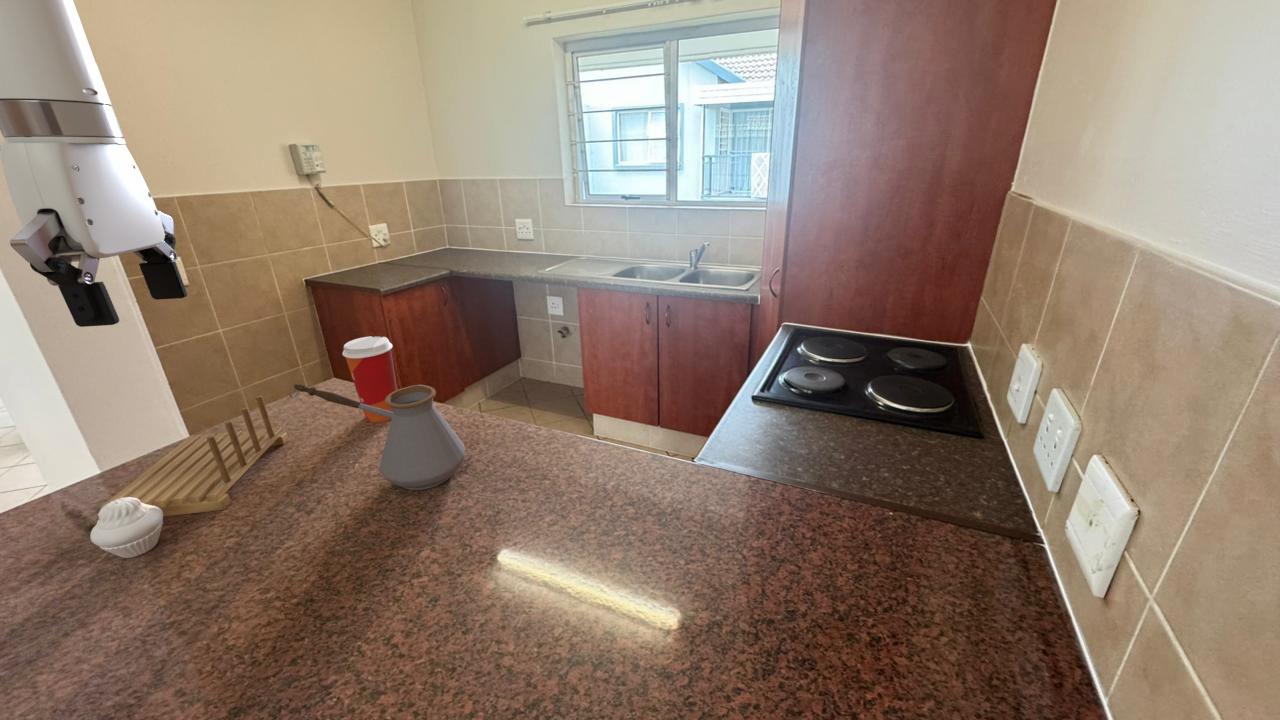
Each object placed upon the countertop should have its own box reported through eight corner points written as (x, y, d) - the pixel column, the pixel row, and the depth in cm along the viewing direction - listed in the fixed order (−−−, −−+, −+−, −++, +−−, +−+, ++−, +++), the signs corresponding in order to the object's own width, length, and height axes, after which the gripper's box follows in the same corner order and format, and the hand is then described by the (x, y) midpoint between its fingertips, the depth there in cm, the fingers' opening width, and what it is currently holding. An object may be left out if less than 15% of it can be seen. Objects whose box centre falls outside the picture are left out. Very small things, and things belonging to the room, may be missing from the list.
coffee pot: (477, 451, 79) (462, 363, 73) (454, 497, 68) (435, 398, 62) (339, 455, 78) (314, 367, 72) (295, 503, 67) (261, 403, 62)
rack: (103, 523, 64) (70, 460, 61) (194, 448, 81) (172, 396, 77) (224, 510, 66) (199, 448, 63) (288, 440, 83) (271, 388, 79)
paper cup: (377, 404, 94) (360, 334, 89) (414, 406, 93) (400, 335, 88) (349, 424, 87) (329, 349, 82) (389, 427, 86) (372, 351, 81)
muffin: (167, 554, 59) (144, 505, 56) (96, 576, 56) (68, 526, 53) (177, 524, 64) (157, 478, 61) (112, 542, 61) (87, 495, 58)
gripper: (94, 132, 52) (156, 292, 59) (-102, 121, 36) (13, 341, 43) (175, 131, 53) (227, 288, 60) (19, 120, 38) (113, 335, 44)
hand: (138, 310), depth 51 cm, fingers open, 9 cm apart
